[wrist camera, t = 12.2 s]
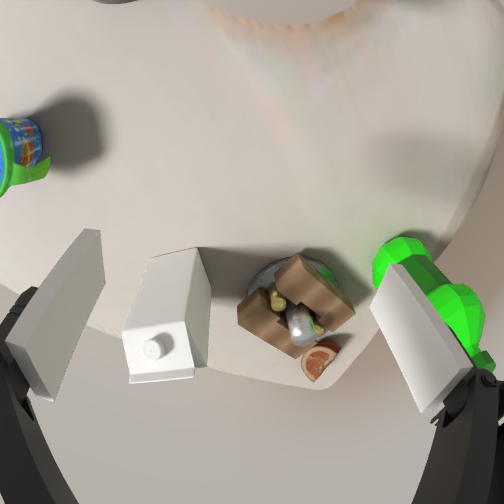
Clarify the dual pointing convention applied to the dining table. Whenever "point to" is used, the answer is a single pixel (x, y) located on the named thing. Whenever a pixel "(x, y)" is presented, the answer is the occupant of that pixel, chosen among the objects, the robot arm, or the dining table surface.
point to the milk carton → (169, 319)
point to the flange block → (296, 290)
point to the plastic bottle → (438, 293)
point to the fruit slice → (318, 359)
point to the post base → (276, 265)
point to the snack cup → (20, 153)
